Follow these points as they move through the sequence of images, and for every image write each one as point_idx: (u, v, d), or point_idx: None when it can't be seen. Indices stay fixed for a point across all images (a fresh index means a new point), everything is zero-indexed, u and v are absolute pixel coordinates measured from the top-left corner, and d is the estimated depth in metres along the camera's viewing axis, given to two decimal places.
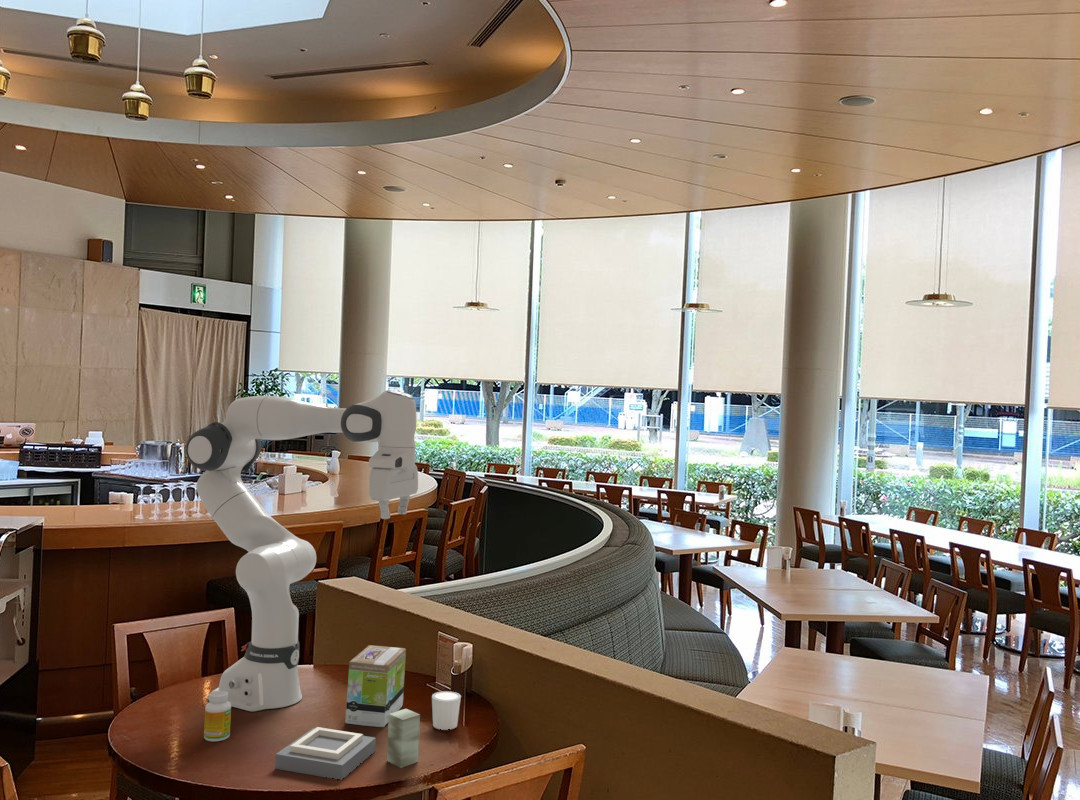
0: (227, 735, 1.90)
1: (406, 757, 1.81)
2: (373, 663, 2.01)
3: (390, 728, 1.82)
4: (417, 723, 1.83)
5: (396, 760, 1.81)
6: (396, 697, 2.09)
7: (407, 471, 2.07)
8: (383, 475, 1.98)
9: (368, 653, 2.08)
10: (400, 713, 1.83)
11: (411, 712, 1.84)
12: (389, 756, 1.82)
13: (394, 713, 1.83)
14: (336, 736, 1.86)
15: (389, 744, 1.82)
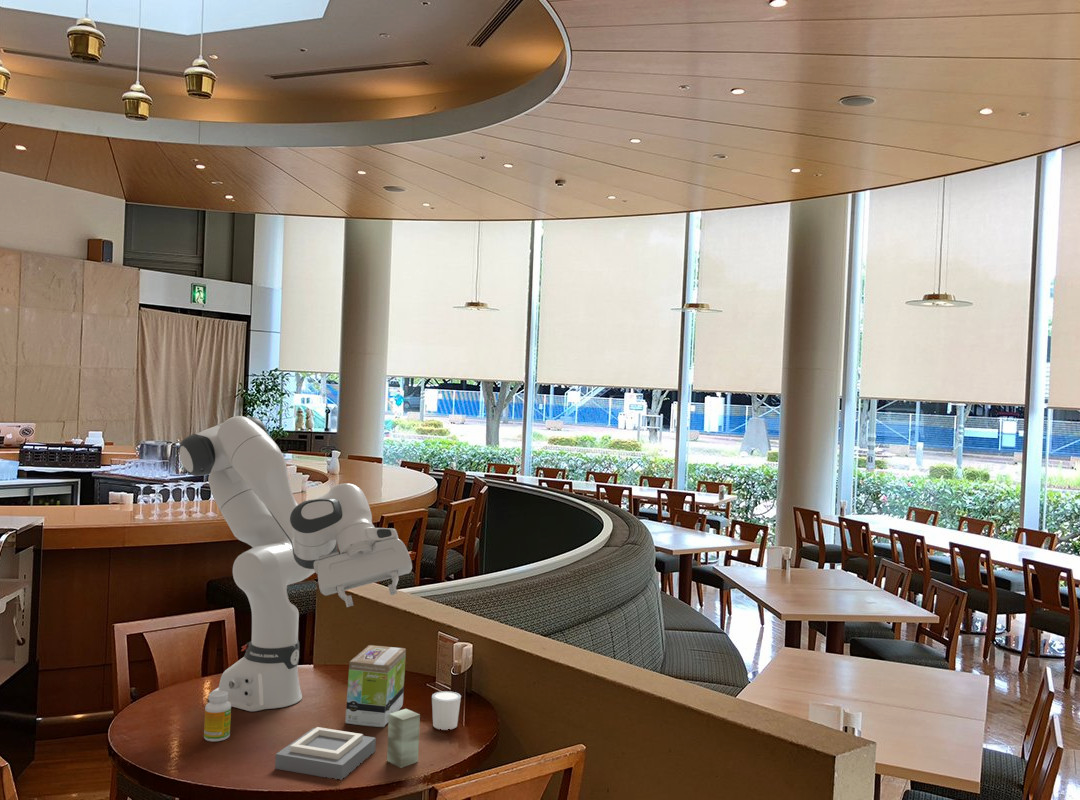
0: (227, 735, 1.90)
1: (406, 757, 1.81)
2: (373, 663, 2.01)
3: (390, 728, 1.82)
4: (417, 723, 1.83)
5: (396, 760, 1.81)
6: (396, 697, 2.09)
7: None
8: None
9: (368, 653, 2.08)
10: (400, 713, 1.83)
11: (411, 712, 1.84)
12: (389, 756, 1.82)
13: (394, 713, 1.83)
14: (336, 736, 1.86)
15: (389, 744, 1.82)
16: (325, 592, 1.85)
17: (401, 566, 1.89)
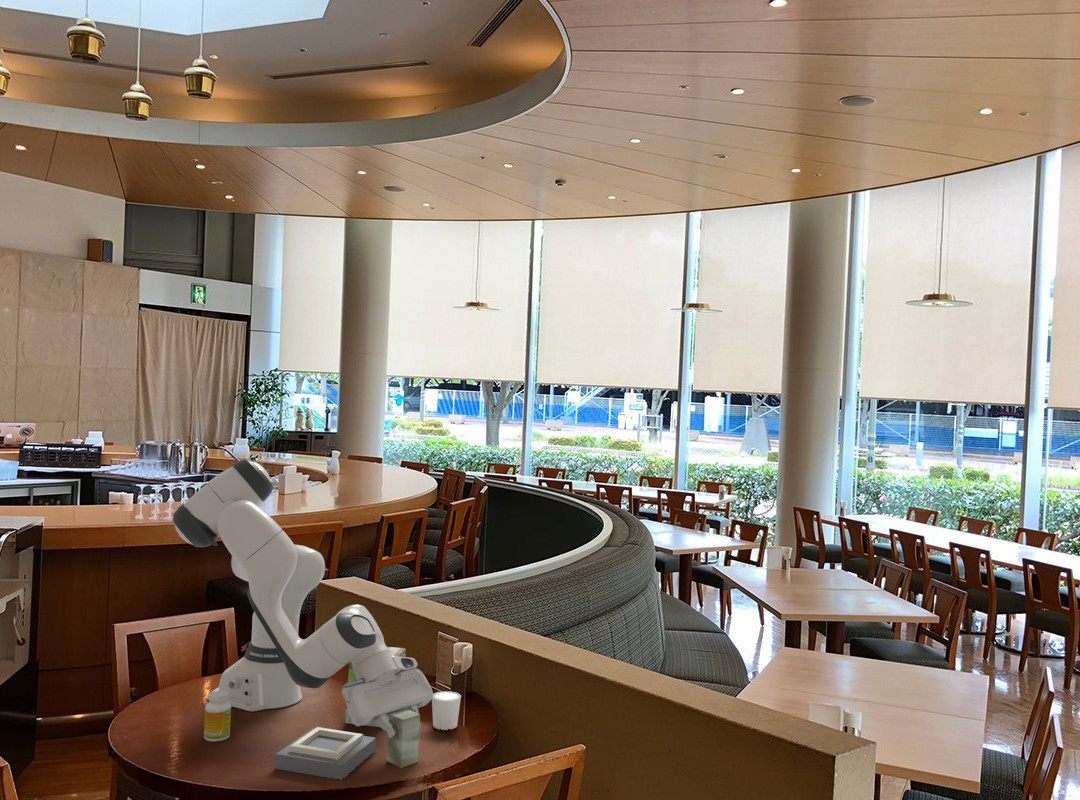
0: (227, 735, 1.90)
1: (406, 757, 1.81)
2: None
3: None
4: (417, 723, 1.83)
5: (396, 760, 1.81)
6: None
7: None
8: None
9: None
10: (400, 713, 1.83)
11: (411, 712, 1.84)
12: (389, 756, 1.82)
13: (394, 713, 1.83)
14: (336, 736, 1.86)
15: (389, 744, 1.82)
16: (362, 722, 1.78)
17: (426, 698, 1.90)
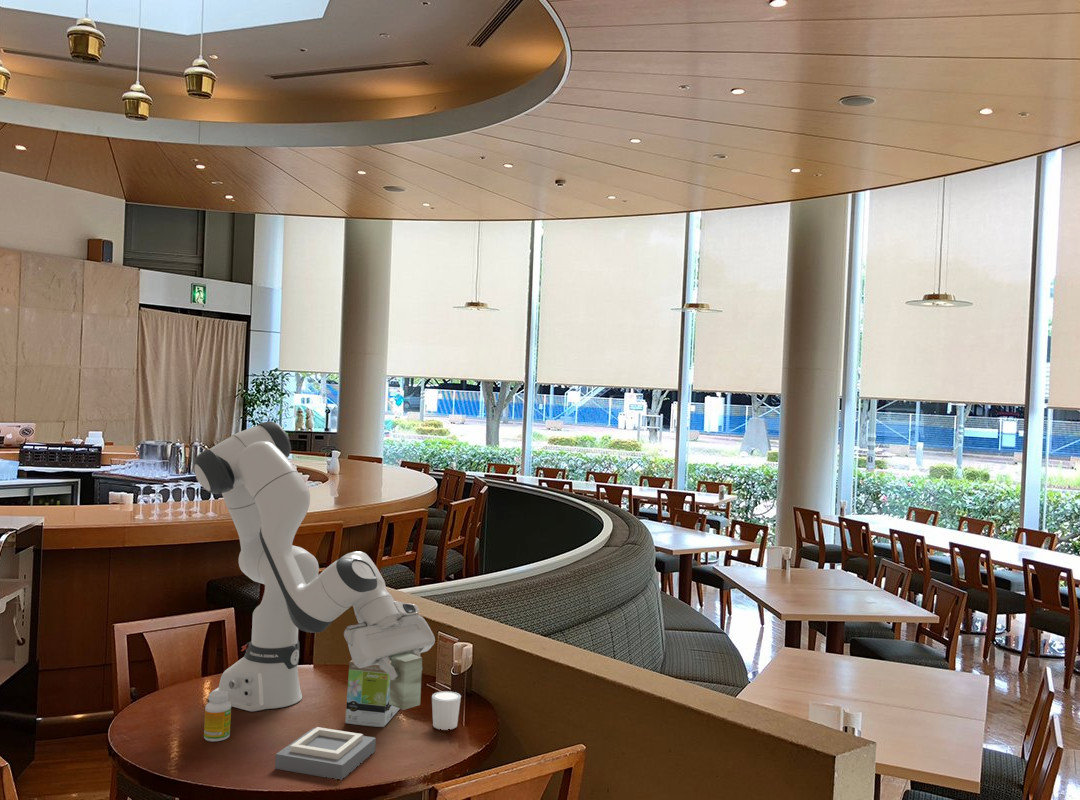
0: (227, 735, 1.90)
1: (408, 700, 1.81)
2: None
3: None
4: (419, 666, 1.83)
5: (398, 703, 1.81)
6: None
7: None
8: None
9: None
10: (402, 656, 1.83)
11: (413, 655, 1.84)
12: (391, 699, 1.82)
13: (396, 656, 1.83)
14: (336, 736, 1.86)
15: (391, 687, 1.82)
16: (364, 664, 1.78)
17: (428, 643, 1.90)
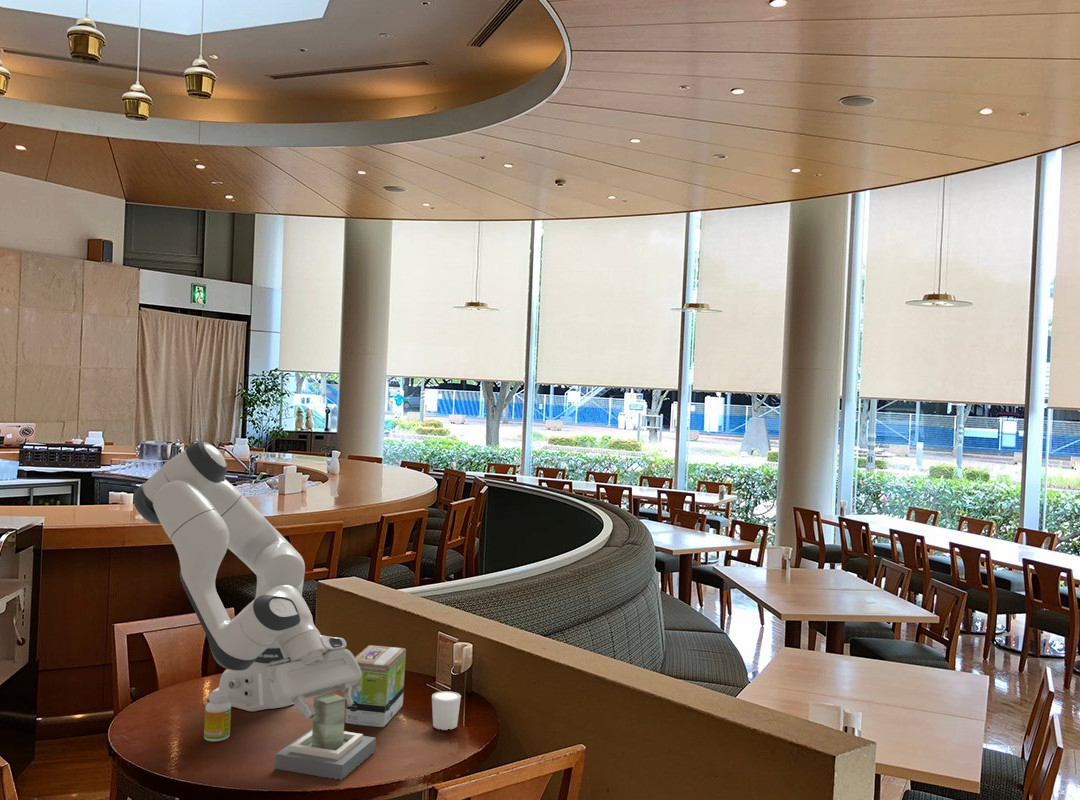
0: (227, 735, 1.90)
1: (330, 741, 1.80)
2: (373, 663, 2.01)
3: (315, 712, 1.81)
4: (342, 707, 1.82)
5: (320, 744, 1.80)
6: (396, 697, 2.09)
7: None
8: None
9: (368, 653, 2.08)
10: (325, 697, 1.82)
11: (337, 696, 1.83)
12: (314, 740, 1.81)
13: (319, 697, 1.82)
14: None
15: (314, 728, 1.81)
16: (284, 701, 1.77)
17: (354, 677, 1.89)
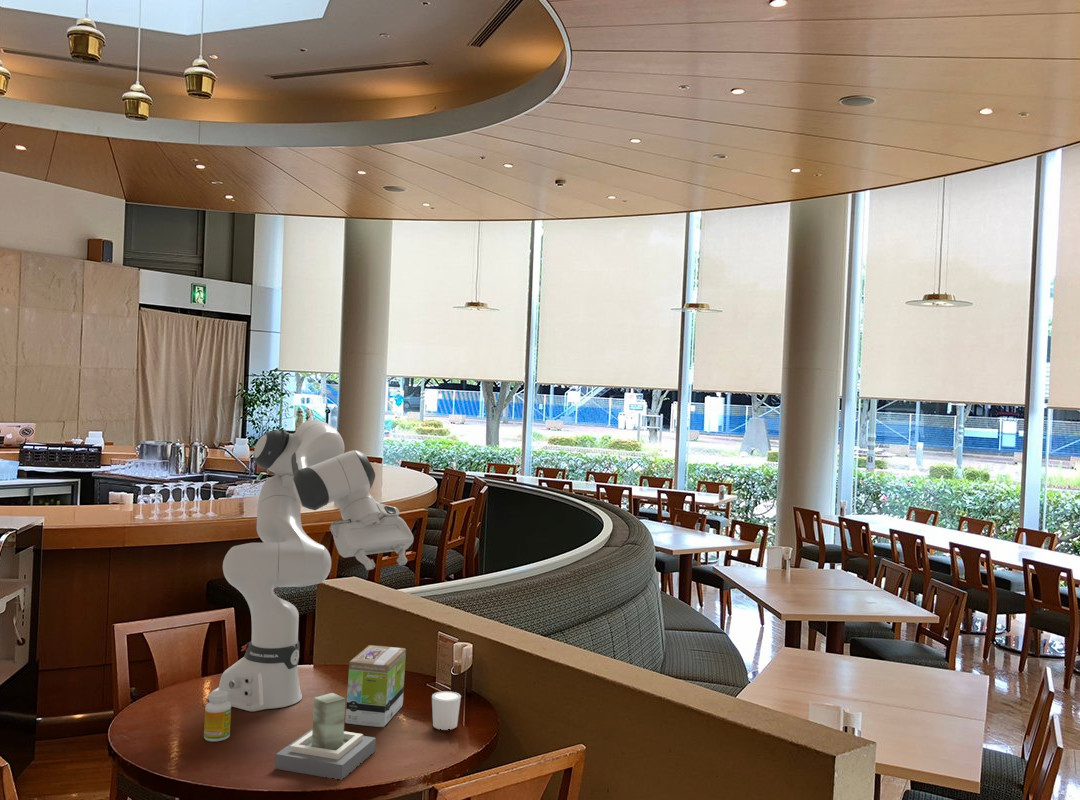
0: (227, 735, 1.90)
1: (330, 741, 1.80)
2: (373, 663, 2.01)
3: (315, 712, 1.81)
4: (342, 707, 1.82)
5: (320, 744, 1.80)
6: (396, 697, 2.09)
7: None
8: None
9: (368, 653, 2.08)
10: (325, 697, 1.82)
11: (337, 696, 1.83)
12: (314, 740, 1.81)
13: (319, 697, 1.82)
14: None
15: (314, 728, 1.81)
16: (348, 553, 1.97)
17: (407, 540, 2.08)
